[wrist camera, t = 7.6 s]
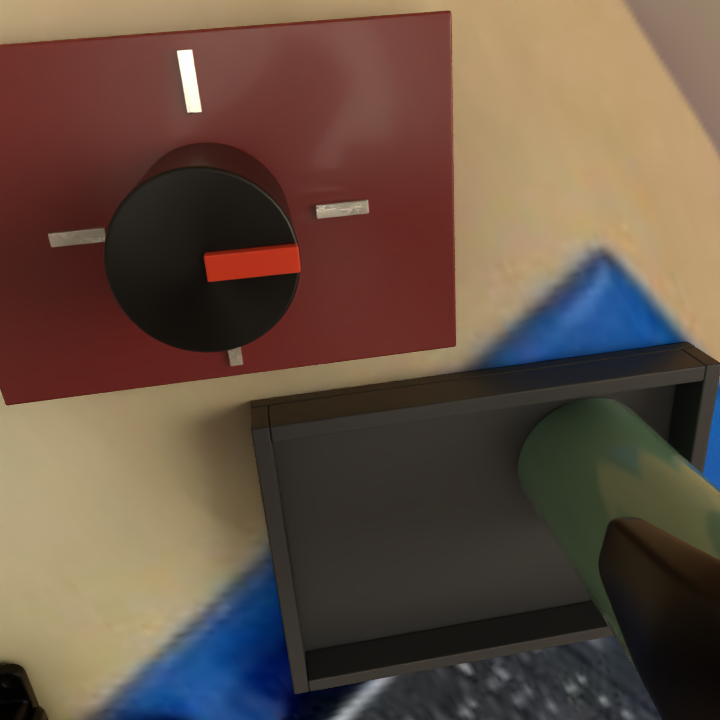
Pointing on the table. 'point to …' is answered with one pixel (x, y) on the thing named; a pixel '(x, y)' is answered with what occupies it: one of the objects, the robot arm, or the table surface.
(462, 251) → the table surface
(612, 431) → the jar
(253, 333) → the dial
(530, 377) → the baking tray
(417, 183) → the panel
